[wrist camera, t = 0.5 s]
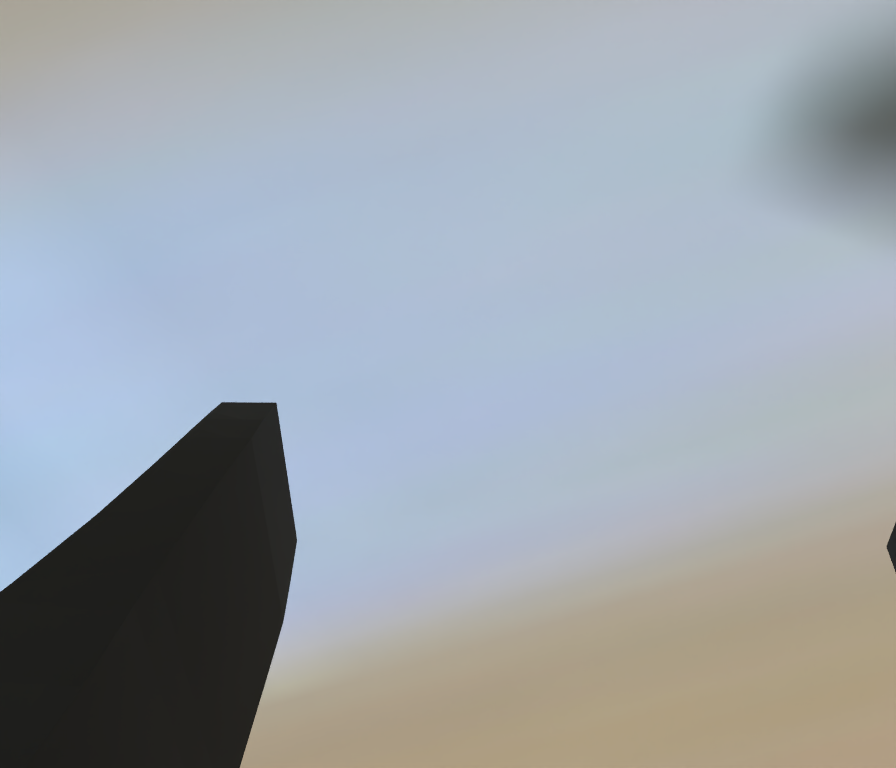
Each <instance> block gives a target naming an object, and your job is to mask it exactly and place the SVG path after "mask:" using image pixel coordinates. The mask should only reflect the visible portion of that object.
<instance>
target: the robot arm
mask: <svg viewBox="0 0 896 768" xmlns="http://www.w3.org/2000/svg"><path fill="white" fill-rule="evenodd" d="M296 543H297V537H296V530H295V524H294V517H293V510H292V504H291V497H290V490H289V484H288V477H287V470H286V464H285V457H284V450H283V444H282V437H281V431H280V424H279V417H278V411H277V404H276V403H236V402H222V403H221V404H220V405H218V406H217V407H216V408H215V409H214V410H212V411H211V412H210V413H209V414H208V415H207V416H206V417H204V418H203V419H202V420H201V421H200V422H199V423H198V424H197V425H196V426H195V427H193V428H192V429H191V430H190V431H189V432H188V433H187V434H186V435H185V436H184V437H183V438H182V439H180V440H179V441H178V442H177V443H176V444H175V445H174V446H173V447H172V448H171V449H170V450H169V451H167V452H166V453H165V454H164V455H163V456H162V457H161V458H160V459H159V460H158V461H157V462H155V463H154V464H153V465H152V466H151V467H150V468H149V469H148V470H147V471H145V472H144V473H143V474H142V475H141V476H140V477H139V478H138V479H136V480H135V481H134V482H133V483H132V484H131V485H130V486H128V487H127V488H126V489H125V490H124V491H123V492H122V493H121V494H119V495H118V496H117V497H116V498H115V499H114V500H113V501H112V502H110V503H109V504H108V505H107V506H106V507H105V508H104V509H103V510H101V511H100V512H99V513H98V514H97V515H96V516H94V517H93V518H92V519H91V520H90V521H88V522H87V523H86V524H85V525H83V526H82V527H81V528H80V529H78V530H77V531H76V532H75V533H74V534H72V535H71V536H70V537H69V538H67V539H66V540H65V541H64V542H62V543H61V544H60V545H59V546H57V547H56V548H55V549H54V550H52V551H51V552H50V553H49V554H47V555H46V556H45V557H44V558H43V559H41V560H40V561H39V562H38V563H36V564H35V565H34V566H33V567H31V568H30V569H29V570H28V571H26V572H25V573H24V574H23V575H21V576H20V577H19V578H18V579H16V580H15V581H14V582H13V583H12V584H10V585H9V586H8V587H6V588H5V589H4V590H2V591H1V592H0V768H240V764H241V761H242V758H243V755H244V751H245V748H246V745H247V741H248V738H249V735H250V731H251V728H252V725H253V722H254V718H255V715H256V712H257V708H258V705H259V702H260V698H261V695H262V692H263V689H264V685H265V682H266V678H267V675H268V672H269V668H270V665H271V662H272V658H273V655H274V651H275V648H276V645H277V641H278V638H279V634H280V631H281V627H282V624H283V620H284V615H285V609H286V603H287V598H288V592H289V587H290V581H291V574H292V568H293V562H294V556H295V549H296ZM887 549H888V552H889V555H890V558H891V561H892V563H893V566H894V569H895V572H896V523H895V526H894V528H893V531H892V534H891V536H890V539H889V542H888V544H887Z"/></svg>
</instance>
